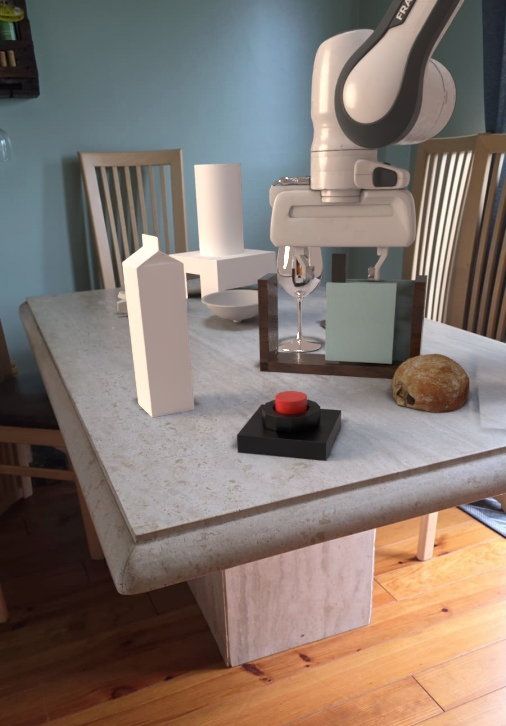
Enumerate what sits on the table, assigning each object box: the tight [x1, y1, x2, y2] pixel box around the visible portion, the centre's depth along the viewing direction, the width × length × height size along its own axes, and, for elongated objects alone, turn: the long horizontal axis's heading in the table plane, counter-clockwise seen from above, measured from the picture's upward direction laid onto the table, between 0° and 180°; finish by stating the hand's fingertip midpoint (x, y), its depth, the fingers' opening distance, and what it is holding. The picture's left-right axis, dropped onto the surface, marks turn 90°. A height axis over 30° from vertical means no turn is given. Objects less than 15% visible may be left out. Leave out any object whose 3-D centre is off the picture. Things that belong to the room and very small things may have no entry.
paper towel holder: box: [168, 162, 277, 300], centre depth 151 cm, size 19×19×30 cm
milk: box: [121, 233, 195, 419], centre depth 79 cm, size 6×6×22 cm
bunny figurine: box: [116, 290, 128, 314], centre depth 139 cm, size 10×5×15 cm
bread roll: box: [391, 353, 471, 413], centre depth 82 cm, size 10×10×8 cm
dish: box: [200, 289, 258, 323], centre depth 128 cm, size 18×14×5 cm
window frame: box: [257, 273, 428, 379], centre depth 94 cm, size 24×6×14 cm, turn 73°
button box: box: [236, 398, 342, 462], centre depth 72 cm, size 10×10×4 cm
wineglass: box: [276, 247, 324, 353], centre depth 105 cm, size 8×8×20 cm
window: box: [324, 252, 397, 364], centre depth 91 cm, size 10×1×16 cm, turn 73°
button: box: [274, 390, 308, 414], centre depth 71 cm, size 4×4×2 cm
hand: (340, 279), depth 90 cm, fingers open, 8 cm apart
